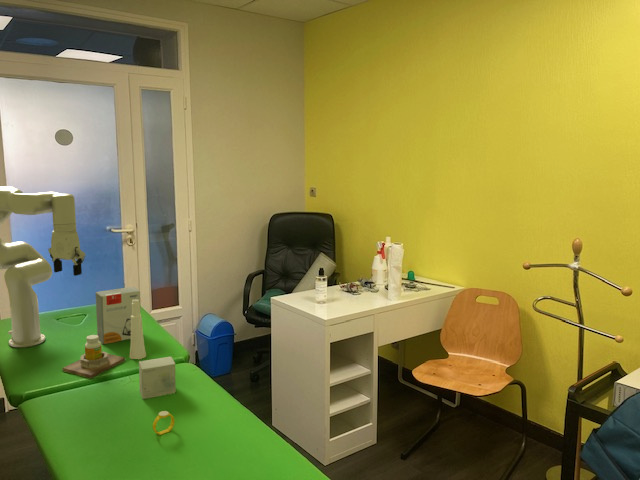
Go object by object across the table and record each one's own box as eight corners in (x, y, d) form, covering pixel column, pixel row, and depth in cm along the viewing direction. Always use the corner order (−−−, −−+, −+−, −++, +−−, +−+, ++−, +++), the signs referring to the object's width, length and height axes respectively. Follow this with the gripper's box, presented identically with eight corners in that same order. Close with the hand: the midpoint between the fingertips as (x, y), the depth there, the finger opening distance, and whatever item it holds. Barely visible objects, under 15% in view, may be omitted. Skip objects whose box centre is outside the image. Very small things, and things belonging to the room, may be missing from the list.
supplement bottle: (96, 366, 185) (94, 340, 183) (82, 364, 186) (80, 338, 184) (105, 360, 190) (103, 334, 188) (92, 358, 191) (90, 333, 189)
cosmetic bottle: (149, 355, 198) (147, 299, 194) (138, 361, 193) (135, 303, 189) (137, 352, 201) (135, 296, 197) (125, 357, 196) (123, 301, 191)
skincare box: (142, 400, 165) (141, 368, 163) (139, 391, 171) (138, 361, 169) (176, 393, 170) (175, 363, 168) (172, 385, 176) (171, 355, 174)
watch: (170, 427, 151) (171, 408, 150) (175, 432, 149) (176, 412, 148) (151, 434, 147) (151, 413, 146) (155, 438, 145) (156, 417, 144)
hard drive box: (103, 345, 206) (100, 296, 203) (97, 339, 212) (94, 291, 208) (142, 336, 216) (140, 290, 212) (135, 331, 222) (133, 285, 218)
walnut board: (62, 371, 183) (62, 361, 183) (98, 354, 198) (97, 345, 197) (91, 378, 179) (90, 368, 178) (125, 360, 193) (124, 351, 192)
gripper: (38, 227, 192) (42, 272, 195) (74, 231, 186) (77, 278, 189) (56, 224, 199) (59, 268, 202) (90, 228, 192) (93, 273, 196)
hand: (67, 273), depth 195 cm, fingers open, 9 cm apart
